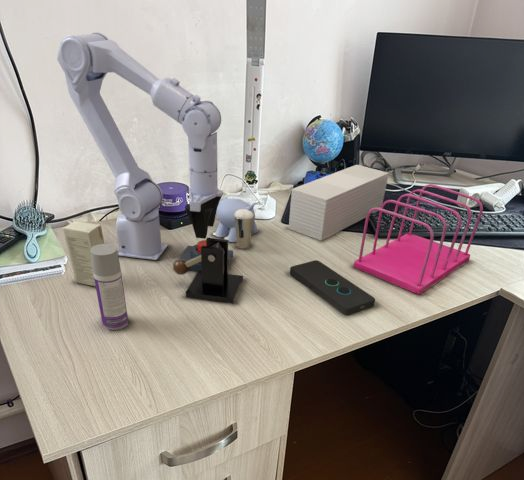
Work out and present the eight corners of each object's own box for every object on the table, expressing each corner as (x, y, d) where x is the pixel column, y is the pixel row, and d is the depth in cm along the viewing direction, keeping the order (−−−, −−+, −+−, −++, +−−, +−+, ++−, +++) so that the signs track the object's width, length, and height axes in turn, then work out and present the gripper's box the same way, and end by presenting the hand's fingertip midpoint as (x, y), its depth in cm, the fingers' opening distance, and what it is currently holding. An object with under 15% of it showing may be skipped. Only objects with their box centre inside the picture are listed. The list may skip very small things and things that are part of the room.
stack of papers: (321, 240, 125) (326, 199, 118) (288, 228, 130) (291, 188, 123) (381, 209, 145) (388, 172, 138) (351, 200, 150) (356, 164, 143)
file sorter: (469, 261, 119) (490, 198, 110) (418, 296, 104) (438, 226, 95) (406, 238, 128) (421, 179, 119) (352, 267, 113) (364, 201, 104)
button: (195, 253, 109) (195, 245, 108) (199, 246, 111) (199, 239, 110) (211, 254, 108) (211, 247, 107) (215, 248, 111) (215, 241, 110)
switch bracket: (185, 297, 99) (183, 251, 93) (198, 275, 107) (197, 231, 101) (233, 303, 98) (234, 257, 92) (243, 280, 106) (244, 236, 100)
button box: (176, 268, 109) (175, 254, 107) (188, 251, 116) (187, 238, 114) (224, 274, 108) (224, 260, 105) (233, 257, 115) (233, 243, 113)
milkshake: (253, 251, 118) (254, 211, 112) (231, 248, 118) (232, 209, 112) (257, 244, 121) (258, 205, 115) (236, 241, 122) (236, 202, 116)
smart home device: (346, 308, 95) (288, 266, 108) (345, 316, 96) (287, 273, 109) (377, 298, 99) (317, 259, 112) (375, 305, 100) (316, 265, 113)
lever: (176, 279, 101) (168, 266, 99) (181, 272, 103) (173, 259, 102) (222, 259, 96) (214, 245, 95) (226, 252, 99) (218, 239, 97)
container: (104, 316, 92) (91, 243, 83) (130, 316, 93) (119, 243, 84) (100, 330, 88) (86, 255, 79) (126, 330, 89) (115, 255, 80)
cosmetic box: (111, 279, 104) (103, 224, 96) (99, 288, 100) (90, 232, 93) (86, 273, 105) (75, 219, 98) (73, 282, 102) (61, 227, 94)
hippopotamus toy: (224, 218, 134) (225, 183, 128) (266, 234, 126) (269, 198, 121) (196, 228, 127) (195, 192, 121) (239, 246, 119) (240, 209, 114)
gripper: (213, 181, 93) (214, 247, 101) (230, 160, 104) (229, 221, 112) (178, 178, 93) (181, 243, 102) (198, 157, 105) (200, 217, 113)
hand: (204, 231), depth 107 cm, fingers open, 6 cm apart
